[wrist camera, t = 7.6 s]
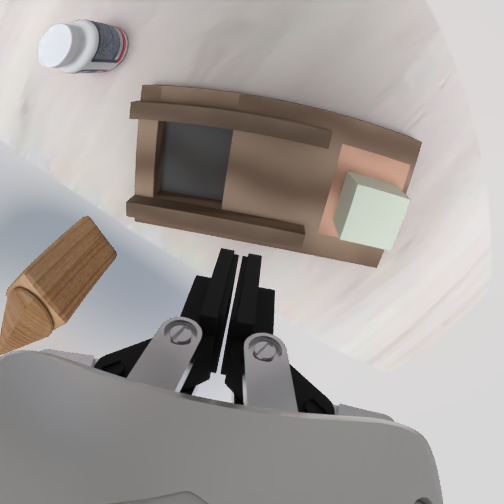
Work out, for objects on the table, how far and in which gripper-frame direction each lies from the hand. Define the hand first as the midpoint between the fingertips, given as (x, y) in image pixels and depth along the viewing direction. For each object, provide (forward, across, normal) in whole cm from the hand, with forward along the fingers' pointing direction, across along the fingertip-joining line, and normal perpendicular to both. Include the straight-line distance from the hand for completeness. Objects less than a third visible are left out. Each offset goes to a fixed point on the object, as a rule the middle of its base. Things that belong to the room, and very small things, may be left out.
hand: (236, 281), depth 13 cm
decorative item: (+19, +20, +13) cm, 31 cm away
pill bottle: (+19, +18, -11) cm, 28 cm away
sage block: (+16, -10, +1) cm, 19 cm away
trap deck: (+19, -1, 0) cm, 19 cm away
